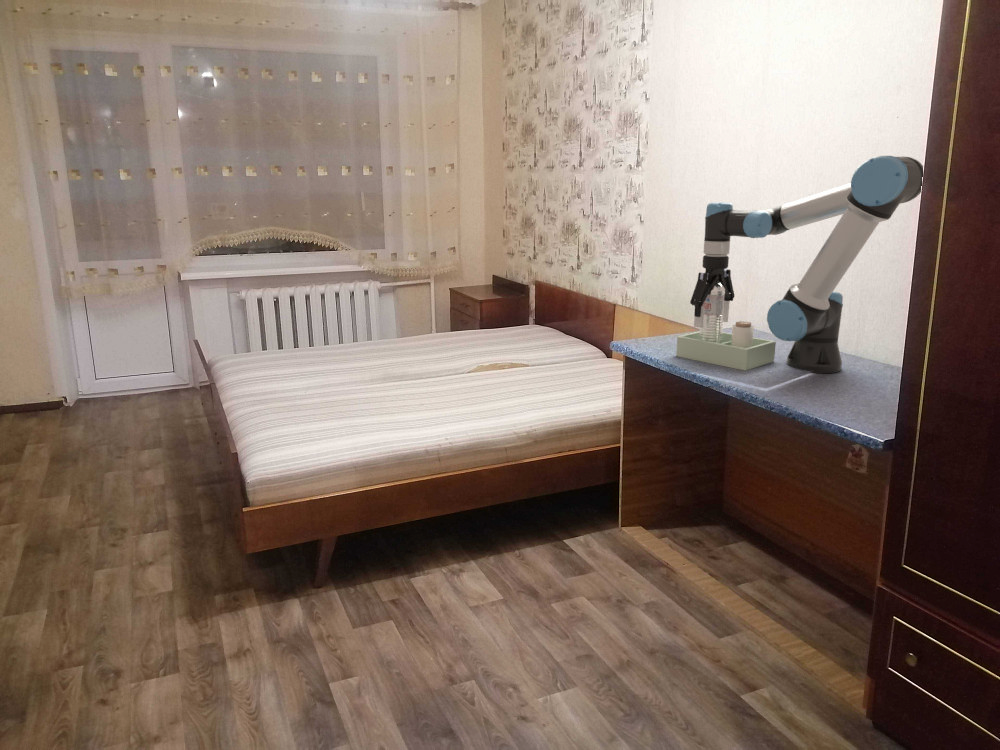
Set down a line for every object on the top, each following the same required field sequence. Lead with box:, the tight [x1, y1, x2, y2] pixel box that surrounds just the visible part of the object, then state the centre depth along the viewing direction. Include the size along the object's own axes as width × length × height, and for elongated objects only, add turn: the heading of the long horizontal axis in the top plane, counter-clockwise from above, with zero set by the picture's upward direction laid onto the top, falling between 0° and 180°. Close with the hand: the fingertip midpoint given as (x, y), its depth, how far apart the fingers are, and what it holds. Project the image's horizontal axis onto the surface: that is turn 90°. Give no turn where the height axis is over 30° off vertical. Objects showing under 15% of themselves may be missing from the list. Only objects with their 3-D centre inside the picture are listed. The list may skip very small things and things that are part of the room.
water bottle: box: [698, 281, 725, 344], centre depth 232 cm, size 7×7×25 cm
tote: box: [675, 331, 777, 372], centre depth 230 cm, size 24×16×7 cm, turn 41°
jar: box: [731, 320, 755, 348], centre depth 226 cm, size 6×6×12 cm
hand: (711, 324), depth 232 cm, fingers open, 13 cm apart
